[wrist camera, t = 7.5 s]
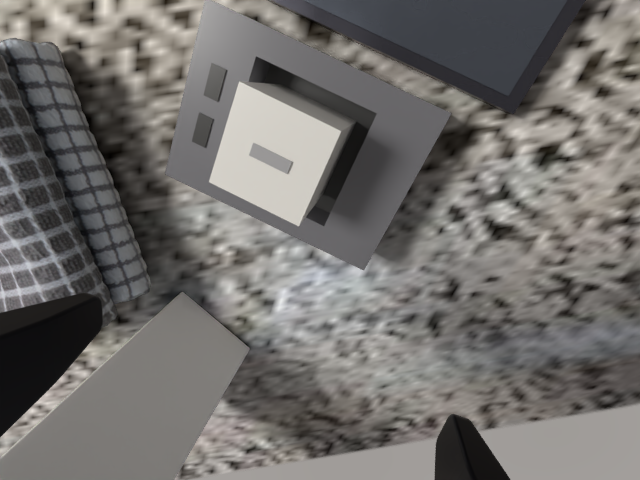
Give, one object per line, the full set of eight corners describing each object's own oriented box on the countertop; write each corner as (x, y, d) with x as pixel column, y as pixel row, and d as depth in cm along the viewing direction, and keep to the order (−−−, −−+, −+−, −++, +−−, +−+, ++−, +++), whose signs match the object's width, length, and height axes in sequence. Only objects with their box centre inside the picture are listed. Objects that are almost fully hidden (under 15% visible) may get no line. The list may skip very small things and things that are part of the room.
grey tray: (444, 110, 16) (451, 113, 14) (367, 251, 20) (363, 271, 18) (230, 9, 17) (204, -4, 14) (190, 165, 20) (164, 174, 18)
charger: (356, 121, 17) (340, 131, 12) (322, 194, 19) (298, 226, 14) (281, 84, 17) (238, 81, 13) (254, 160, 19) (207, 182, 14)
